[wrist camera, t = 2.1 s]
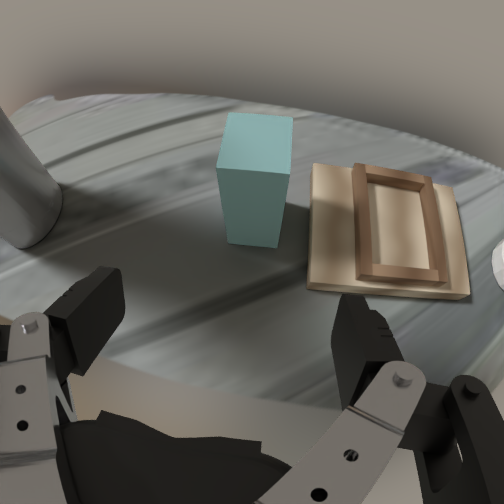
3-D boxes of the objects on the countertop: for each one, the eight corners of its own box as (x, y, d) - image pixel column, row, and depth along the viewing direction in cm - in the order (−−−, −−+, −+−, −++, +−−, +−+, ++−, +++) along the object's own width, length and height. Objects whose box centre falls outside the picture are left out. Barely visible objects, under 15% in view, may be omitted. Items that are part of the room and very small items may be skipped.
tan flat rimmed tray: (306, 288, 27) (313, 275, 24) (310, 174, 31) (315, 153, 28) (459, 299, 26) (479, 289, 23) (444, 197, 31) (458, 180, 28)
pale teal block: (228, 243, 29) (216, 167, 18) (235, 196, 30) (228, 112, 20) (277, 248, 28) (290, 174, 18) (281, 200, 30) (292, 117, 20)
